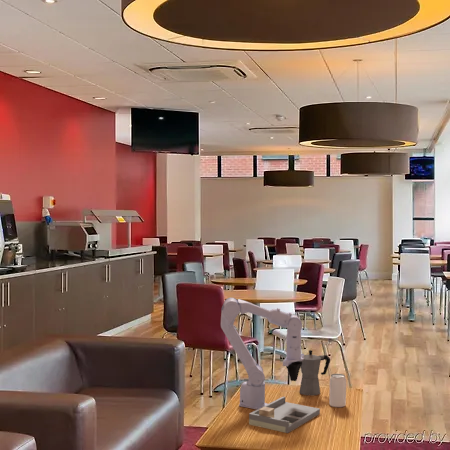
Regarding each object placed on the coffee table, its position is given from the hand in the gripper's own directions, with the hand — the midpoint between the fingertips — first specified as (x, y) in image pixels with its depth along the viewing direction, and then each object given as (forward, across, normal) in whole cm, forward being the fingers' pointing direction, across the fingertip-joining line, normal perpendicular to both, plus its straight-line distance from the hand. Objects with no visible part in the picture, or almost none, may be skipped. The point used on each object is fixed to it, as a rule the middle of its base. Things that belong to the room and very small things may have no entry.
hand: (293, 380), depth 291 cm
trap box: (+10, -15, -4) cm, 19 cm away
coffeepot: (+11, +22, +2) cm, 24 cm away
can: (+11, +12, -14) cm, 21 cm away
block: (+8, -25, -2) cm, 27 cm away
